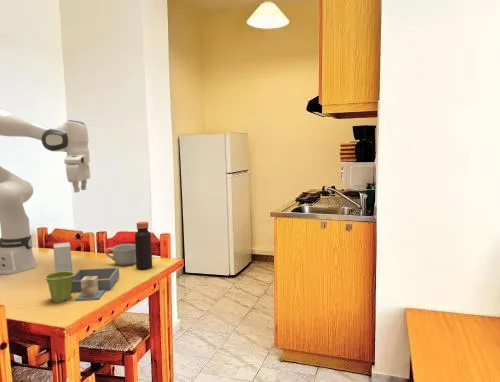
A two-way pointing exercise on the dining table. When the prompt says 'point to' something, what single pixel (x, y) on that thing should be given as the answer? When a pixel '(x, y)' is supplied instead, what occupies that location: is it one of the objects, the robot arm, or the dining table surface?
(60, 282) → the plant pot
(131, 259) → the teacup
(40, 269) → the dining table surface
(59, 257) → the small box
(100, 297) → the pad
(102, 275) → the bin
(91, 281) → the block
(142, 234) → the bottle
